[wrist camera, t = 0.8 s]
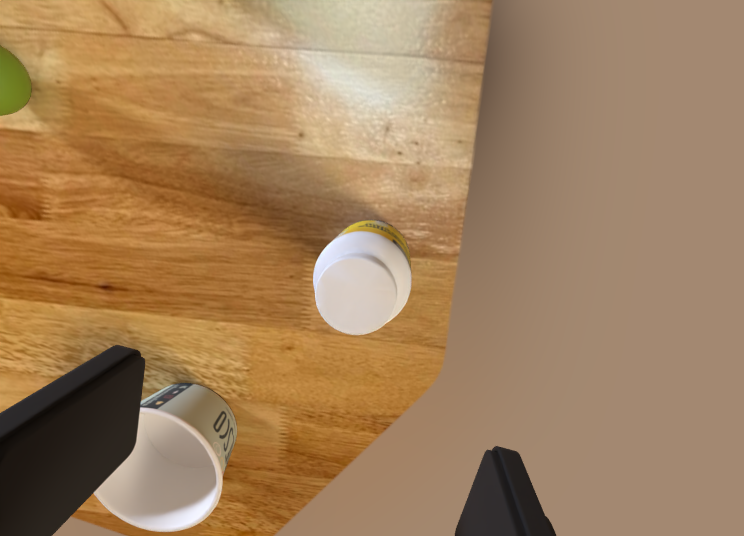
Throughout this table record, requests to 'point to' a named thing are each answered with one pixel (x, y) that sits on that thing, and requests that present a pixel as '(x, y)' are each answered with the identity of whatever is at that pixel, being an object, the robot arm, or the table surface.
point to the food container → (173, 460)
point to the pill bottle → (363, 277)
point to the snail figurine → (13, 83)
